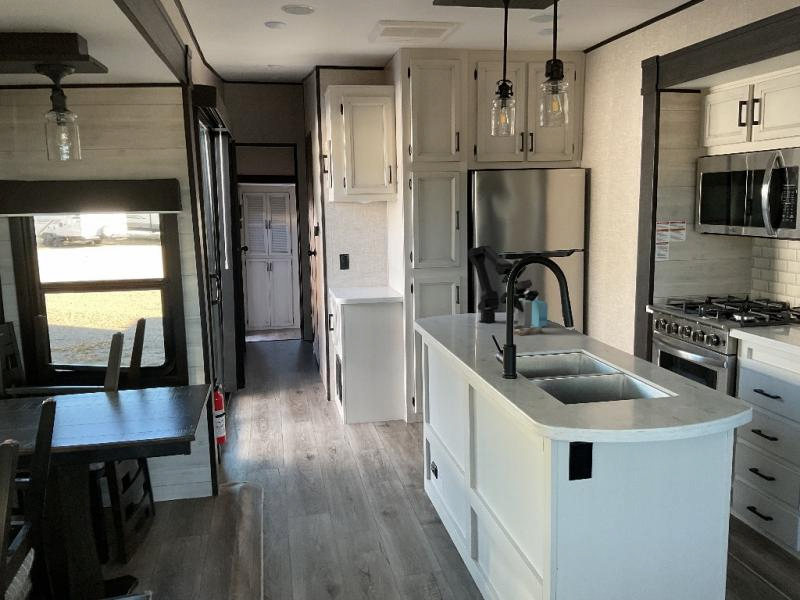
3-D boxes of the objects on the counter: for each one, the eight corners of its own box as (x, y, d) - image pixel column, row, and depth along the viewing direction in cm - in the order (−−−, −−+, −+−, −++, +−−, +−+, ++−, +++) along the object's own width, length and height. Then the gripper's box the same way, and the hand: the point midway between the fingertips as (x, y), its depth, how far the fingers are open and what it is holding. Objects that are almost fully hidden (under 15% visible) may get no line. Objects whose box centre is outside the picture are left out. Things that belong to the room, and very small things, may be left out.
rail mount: (519, 335, 300) (519, 329, 299) (506, 331, 308) (506, 325, 308) (542, 333, 306) (542, 327, 305) (529, 329, 314) (529, 323, 314)
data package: (547, 327, 320) (547, 302, 318) (538, 327, 318) (539, 303, 317) (535, 323, 331) (536, 299, 329) (527, 323, 330) (527, 299, 328)
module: (524, 326, 304) (525, 301, 302) (517, 324, 308) (518, 300, 306) (531, 325, 305) (532, 301, 304) (524, 323, 310) (525, 299, 308)
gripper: (504, 274, 302) (518, 302, 294) (537, 272, 311) (551, 299, 303) (493, 289, 311) (507, 317, 302) (526, 287, 319) (540, 313, 311)
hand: (526, 311), depth 304 cm, fingers closed on module, 4 cm apart
